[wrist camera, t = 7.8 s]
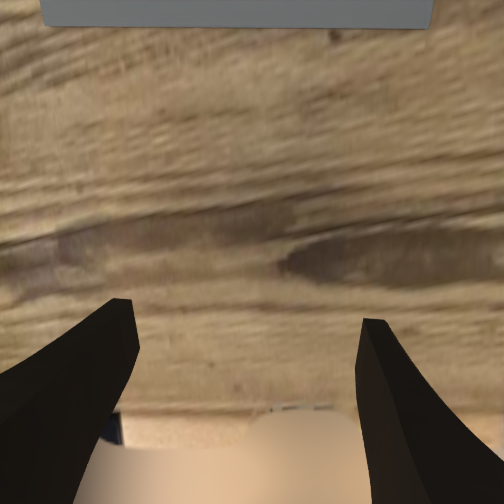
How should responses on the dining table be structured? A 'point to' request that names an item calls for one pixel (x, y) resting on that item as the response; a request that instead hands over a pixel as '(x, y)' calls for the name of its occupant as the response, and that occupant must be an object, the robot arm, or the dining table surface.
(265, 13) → the mat
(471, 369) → the dining table surface
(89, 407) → the robot arm
